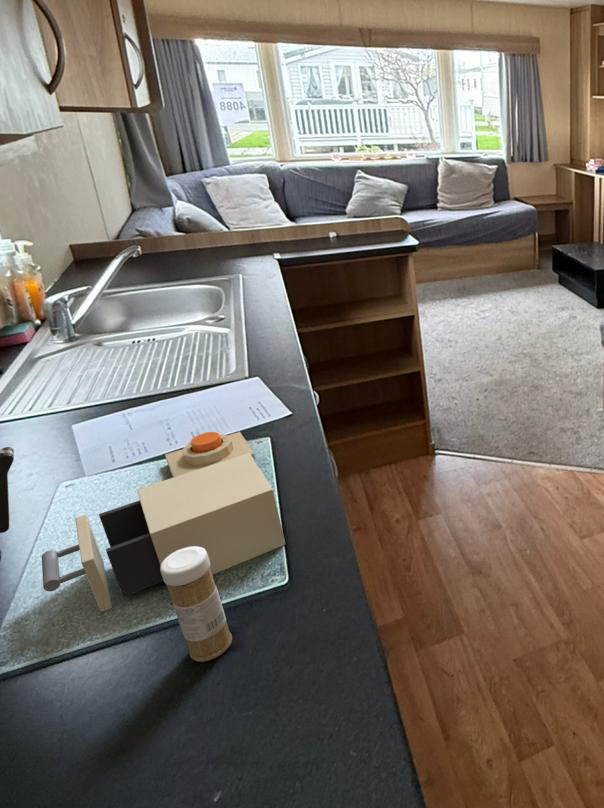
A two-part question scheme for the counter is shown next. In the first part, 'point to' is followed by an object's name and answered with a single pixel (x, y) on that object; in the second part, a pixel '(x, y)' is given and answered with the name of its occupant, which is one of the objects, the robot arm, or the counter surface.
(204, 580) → the sprinkles bottle
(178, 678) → the counter surface
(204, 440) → the button
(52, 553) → the pull-out drawer
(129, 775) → the counter surface
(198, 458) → the panel
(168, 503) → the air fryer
